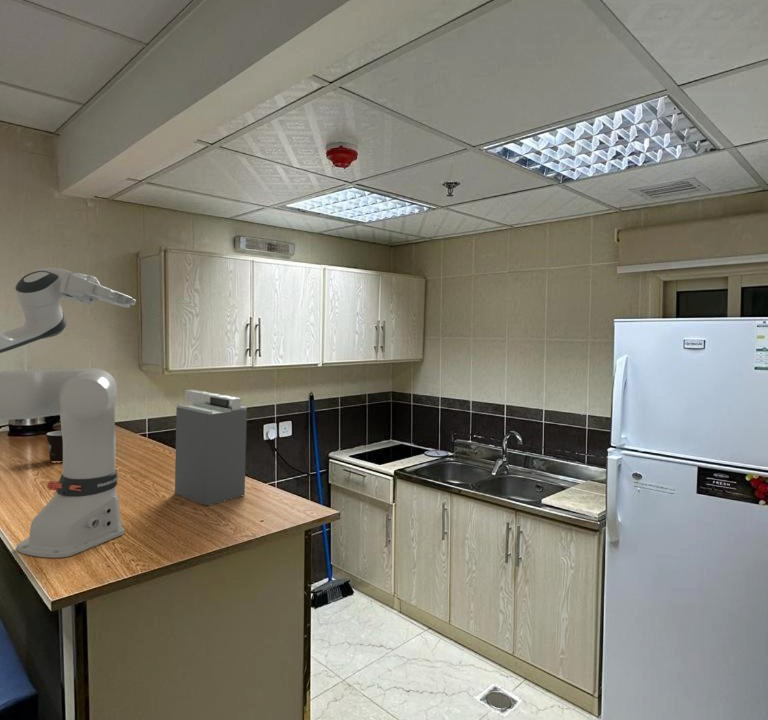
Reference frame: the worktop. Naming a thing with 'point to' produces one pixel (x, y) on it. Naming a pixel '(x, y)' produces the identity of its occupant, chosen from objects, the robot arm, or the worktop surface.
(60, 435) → the coffee mug
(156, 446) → the worktop surface
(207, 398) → the brushed metal post
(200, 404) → the tall grey pillar
